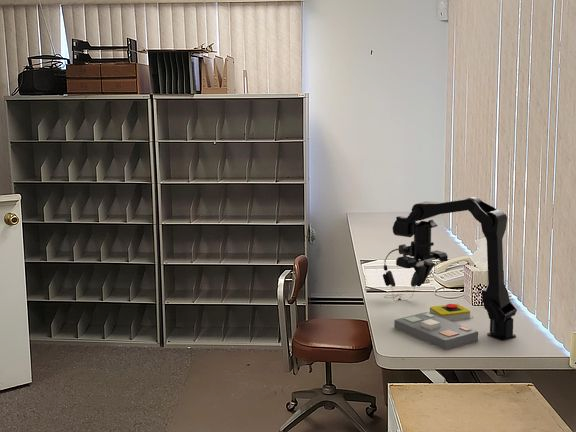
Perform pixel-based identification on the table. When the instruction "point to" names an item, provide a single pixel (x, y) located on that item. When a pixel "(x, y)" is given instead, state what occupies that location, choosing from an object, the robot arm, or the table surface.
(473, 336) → the keypad
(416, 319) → the sage key
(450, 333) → the terracotta key
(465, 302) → the table surface
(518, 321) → the table surface
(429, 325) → the offwhite key
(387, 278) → the headphones
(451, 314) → the emergency button
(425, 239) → the robot arm
